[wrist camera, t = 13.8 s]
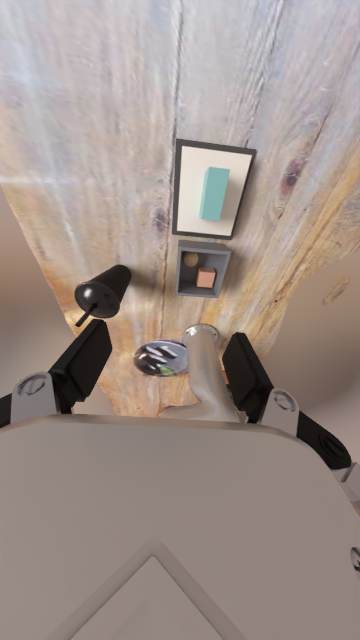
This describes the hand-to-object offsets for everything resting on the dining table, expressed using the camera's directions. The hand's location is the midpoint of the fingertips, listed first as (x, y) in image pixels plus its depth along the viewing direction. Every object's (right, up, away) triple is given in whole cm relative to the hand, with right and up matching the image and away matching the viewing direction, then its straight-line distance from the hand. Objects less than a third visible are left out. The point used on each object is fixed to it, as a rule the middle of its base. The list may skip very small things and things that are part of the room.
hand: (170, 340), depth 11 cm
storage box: (+5, +15, +24) cm, 29 cm away
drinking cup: (-14, +13, +26) cm, 32 cm away
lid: (+6, +25, +16) cm, 30 cm away
